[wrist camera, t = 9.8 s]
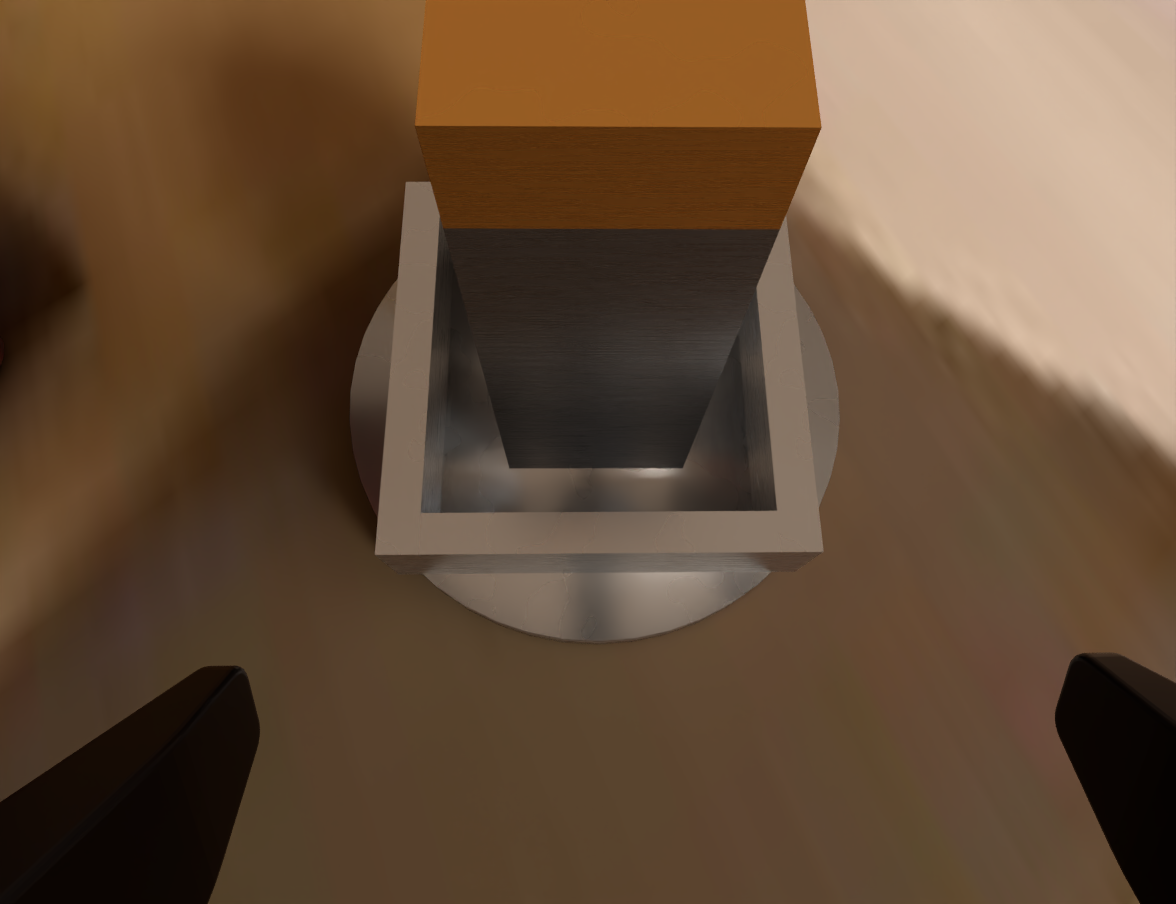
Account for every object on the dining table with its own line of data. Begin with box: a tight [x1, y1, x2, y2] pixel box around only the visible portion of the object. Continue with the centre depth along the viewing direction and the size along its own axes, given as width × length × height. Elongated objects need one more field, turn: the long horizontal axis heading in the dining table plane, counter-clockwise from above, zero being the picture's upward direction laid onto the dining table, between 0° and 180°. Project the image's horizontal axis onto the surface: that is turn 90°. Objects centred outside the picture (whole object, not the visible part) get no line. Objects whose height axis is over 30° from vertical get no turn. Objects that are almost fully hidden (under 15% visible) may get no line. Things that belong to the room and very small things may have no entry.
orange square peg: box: [415, 0, 821, 469], centre depth 16 cm, size 5×5×13 cm
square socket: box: [350, 182, 840, 644], centre depth 23 cm, size 20×14×4 cm
